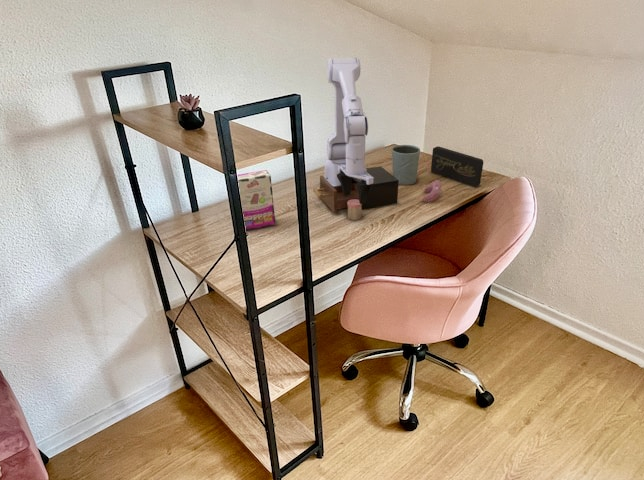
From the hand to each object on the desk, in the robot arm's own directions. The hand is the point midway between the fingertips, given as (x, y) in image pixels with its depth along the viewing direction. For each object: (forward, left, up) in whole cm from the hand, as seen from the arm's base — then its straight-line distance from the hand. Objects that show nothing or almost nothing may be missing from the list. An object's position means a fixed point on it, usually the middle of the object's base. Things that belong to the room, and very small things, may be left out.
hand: (354, 199), depth 154 cm
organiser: (-4, +14, -6) cm, 16 cm away
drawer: (-10, +5, -6) cm, 13 cm away
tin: (0, 0, -6) cm, 6 cm away
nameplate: (+10, +48, -6) cm, 50 cm away
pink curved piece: (+12, +28, -6) cm, 31 cm away
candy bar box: (-20, -24, -6) cm, 32 cm away
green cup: (-4, +35, -6) cm, 36 cm away
